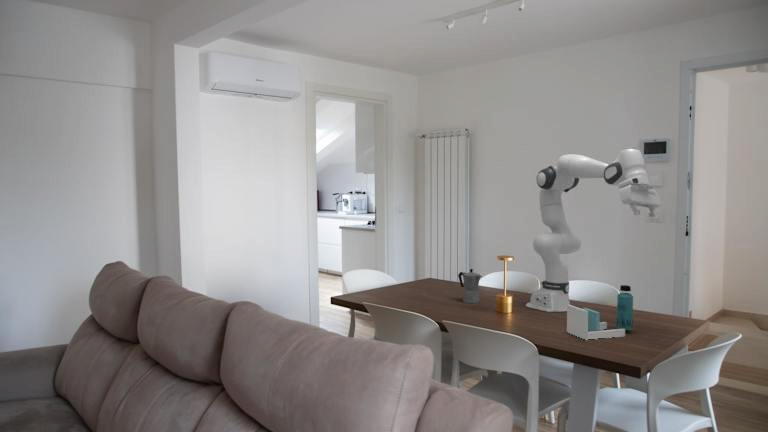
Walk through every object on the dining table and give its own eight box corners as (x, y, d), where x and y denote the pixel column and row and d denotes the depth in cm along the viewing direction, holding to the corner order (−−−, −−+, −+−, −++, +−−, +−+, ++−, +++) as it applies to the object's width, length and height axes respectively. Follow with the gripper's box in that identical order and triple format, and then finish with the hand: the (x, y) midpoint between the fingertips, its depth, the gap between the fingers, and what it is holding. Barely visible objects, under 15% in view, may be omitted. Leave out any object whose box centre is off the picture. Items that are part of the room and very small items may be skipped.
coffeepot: (486, 302, 287) (486, 269, 286) (476, 304, 280) (476, 271, 279) (463, 298, 298) (463, 266, 297) (453, 300, 291) (453, 268, 290)
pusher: (585, 330, 227) (585, 307, 226) (599, 336, 218) (599, 312, 217) (582, 331, 226) (582, 308, 226) (596, 336, 217) (596, 312, 217)
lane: (605, 328, 231) (605, 301, 231) (625, 336, 219) (625, 307, 219) (566, 332, 226) (567, 304, 226) (585, 340, 214) (585, 311, 214)
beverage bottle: (618, 328, 231) (619, 283, 230) (634, 331, 227) (635, 285, 226) (614, 331, 226) (614, 285, 225) (630, 334, 222) (631, 287, 221)
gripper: (647, 189, 226) (654, 220, 222) (614, 184, 217) (621, 215, 213) (660, 184, 221) (668, 215, 217) (627, 178, 212) (635, 211, 207)
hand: (644, 215), depth 215 cm, fingers open, 8 cm apart
